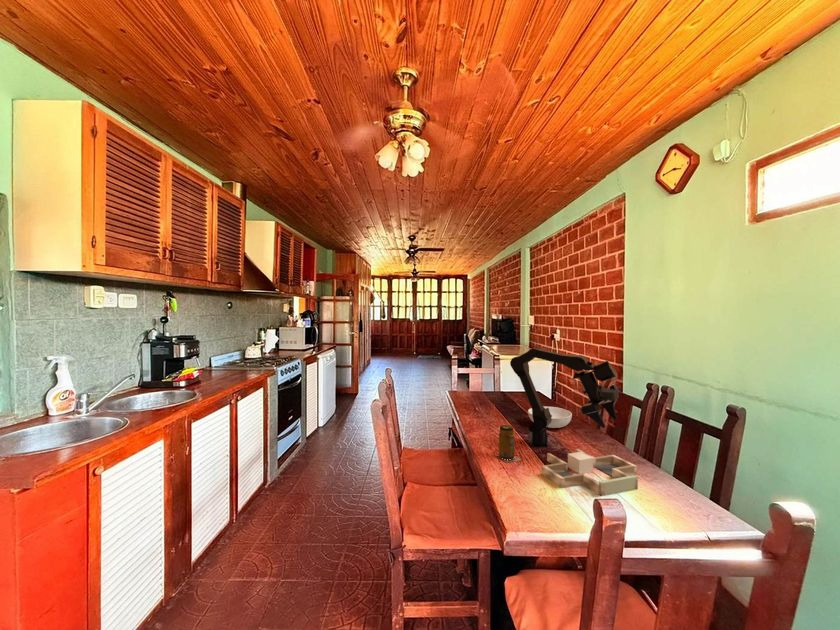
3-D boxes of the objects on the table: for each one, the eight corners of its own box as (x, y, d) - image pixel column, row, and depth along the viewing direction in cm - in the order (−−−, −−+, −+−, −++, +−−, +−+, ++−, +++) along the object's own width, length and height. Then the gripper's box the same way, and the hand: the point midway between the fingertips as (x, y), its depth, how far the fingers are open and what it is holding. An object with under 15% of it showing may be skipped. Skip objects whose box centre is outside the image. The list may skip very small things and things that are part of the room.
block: (567, 467, 133) (567, 453, 133) (581, 464, 135) (581, 451, 135) (579, 474, 128) (579, 460, 127) (593, 471, 129) (593, 458, 129)
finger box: (547, 461, 138) (547, 450, 138) (578, 456, 142) (578, 446, 142) (601, 495, 112) (601, 483, 112) (637, 488, 116) (637, 476, 116)
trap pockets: (542, 474, 127) (542, 465, 127) (613, 462, 137) (613, 454, 136) (561, 488, 117) (561, 478, 117) (637, 474, 127) (637, 465, 127)
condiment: (509, 452, 147) (509, 423, 147) (521, 460, 139) (521, 429, 139) (493, 454, 145) (493, 425, 145) (505, 463, 137) (505, 431, 137)
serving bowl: (523, 419, 192) (523, 406, 192) (563, 419, 191) (562, 406, 191) (534, 432, 171) (534, 417, 171) (579, 432, 170) (579, 417, 170)
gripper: (596, 387, 131) (618, 428, 128) (620, 374, 142) (640, 411, 139) (571, 394, 140) (590, 433, 136) (595, 381, 151) (613, 417, 147)
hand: (609, 423), depth 139 cm, fingers open, 9 cm apart
